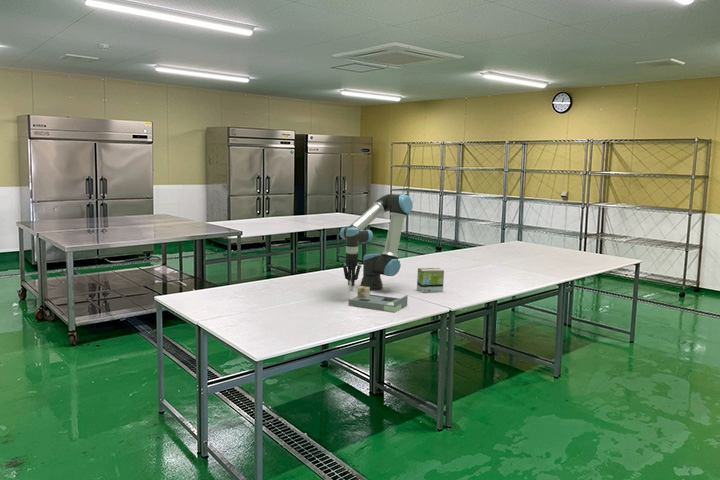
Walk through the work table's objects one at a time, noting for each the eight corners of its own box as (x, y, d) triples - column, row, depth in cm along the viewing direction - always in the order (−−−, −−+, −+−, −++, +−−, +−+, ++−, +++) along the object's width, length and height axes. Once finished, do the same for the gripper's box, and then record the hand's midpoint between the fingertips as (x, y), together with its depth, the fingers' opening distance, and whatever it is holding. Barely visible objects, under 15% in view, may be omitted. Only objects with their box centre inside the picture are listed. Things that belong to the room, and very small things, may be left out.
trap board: (348, 305, 330) (348, 295, 329) (362, 298, 345) (362, 289, 345) (395, 312, 316) (395, 302, 315) (407, 305, 332) (407, 295, 331)
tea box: (422, 292, 365) (422, 270, 363) (416, 289, 374) (417, 267, 372) (443, 291, 369) (444, 269, 367) (437, 288, 378) (438, 267, 376)
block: (357, 296, 338) (357, 287, 338) (361, 294, 343) (361, 286, 343) (365, 297, 336) (365, 288, 335) (369, 295, 341) (369, 287, 340)
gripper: (339, 252, 340) (338, 290, 343) (358, 254, 334) (357, 293, 337) (345, 251, 346) (344, 288, 349) (364, 253, 340) (363, 291, 343)
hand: (351, 290), depth 343 cm, fingers closed
